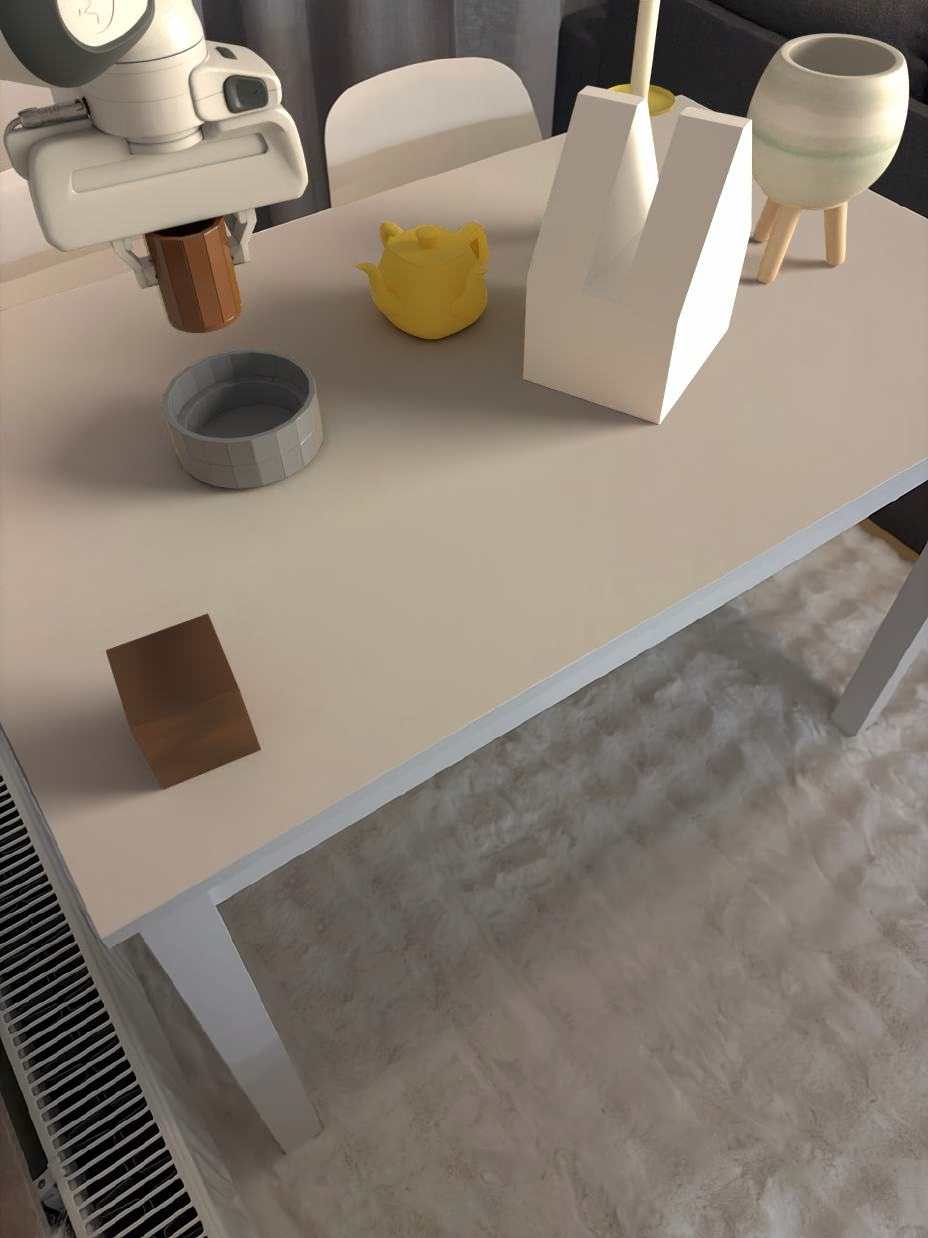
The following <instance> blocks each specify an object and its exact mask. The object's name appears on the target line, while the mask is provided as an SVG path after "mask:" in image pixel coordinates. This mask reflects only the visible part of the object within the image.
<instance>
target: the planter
mask: <svg viewBox="0 0 928 1238" xmlns="http://www.w3.org/2000/svg"><path fill="white" fill-rule="evenodd" d="M909 82H910V79H909V69H908V65H907V60H906V57H905V56H904V55H903V53H902V52H901V51H900V50H898V49H897V48H895V47H894V46H892V45H890V44H888V43H885V42H883V41H882V40H877V39H874V38H871V37H866V36H861V35H857V34H855V35H854V34H847V33H816V34H808V35H803V36H798V37H796V38H793V39H790V40H788V41H787V42H785V43H784V44H782V45H781V46H780V47H779V48H778V50H776V52H775V54H774V55H773V56H772V58H771V59H770V61H769V62H768V64H767V66H766V68H765V69H764V71H763V73H762V74H761V77H760V78H759V81H758V83H757V85H756V87H755V90H754V92H753V95H752V97H751V101H750V104H749V107H748V110H747V113H746V117H745V118H747V119H752V157H751V177H752V178H753V179H754V181H755V182H756V184H757V185H758V186H759V187H760V189H761V191H762V192H763V194H764V195H765V196H766V198H767V200H766V201H765V204H764V206H763V209H762V211H761V214H760V216H759V218H758V220H757V223H756V225H755V228H754V230H753V234H752V235H753V239H754V240H755V241H757V242H761V243H764V242H766V246H765V248H764V251H763V255H762V258H761V261H760V264H759V268H758V272H757V279H758V281H759V282H761V283H764V284H770V283H773V282H774V281H775V280H776V278H777V275H778V273H779V270H780V268H781V265H782V264H783V261H784V258H785V255H786V253H787V250H788V249H789V245H790V242H791V240H792V238H793V235H794V232H795V229H796V227H797V224H798V222H799V219H800V217H801V214H802V211H823V218H824V219H823V223H824V225H823V226H824V241H825V243H824V244H825V245H824V246H825V261H826V263H827V264H828V265H830V266H833V267H837V266H840V265H842V264H843V263H844V261H845V259H846V249H847V219H848V204H849V203H848V202H849V201H850V200H852V199H853V198H855V197H857V196H858V195H861V194H862V193H863V192H865V191H866V190H867V189H869V188H870V187H871V186H872V185H873V184H874V183H875V182H876V181H877V180H878V179H879V178H880V177H881V176H882V175H883V173H884V172H885V171H886V170H887V168H888V167H889V165H890V164H891V162H892V160H893V158H894V156H895V154H896V152H897V150H898V147H899V145H900V142H901V139H902V136H903V133H904V129H905V124H906V120H907V115H908V108H909V107H908V106H909V95H910V83H909Z"/></svg>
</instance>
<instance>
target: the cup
mask: <svg viewBox="0 0 928 1238" xmlns="http://www.w3.org/2000/svg"><path fill="white" fill-rule="evenodd" d="M141 236H142V239H143V243H144V246H145V250H146V254H147V256H148V257H149V259H150V261H151V262H152V264H153V265H154V267H155V271H156V277H157V278H158V281H159V285H156V288H157V291H158V292H157V293H158V295H159V299H160V302H161V306H162V309H163V313H164V314H165V316H166V320H167V323H168V324H169V325H170V326H171V327H172V328H174V329H176V330H177V331H180V332H183V333H187V334H188V333H189V334H208V333H213V332H217V331H219V330H222V329H225V328H226V327H229V326H230V325H232V324H233V323H234V322H236V321H237V320H238V319H239V317H240V316H241V313H242V309H243V308H242V303H243V302H242V298H241V292H240V288H239V284H238V283H239V282H238V279H237V275H236V274H237V273H236V270H235V266H234V265H233V261H232V255H231V251H230V246H229V241H228V233H227V227H226V223H225V218H224V215H223V216H218V217H214V218H210V219H205V220H201V221H197V222H193V223H188V224H184V225H180V226H175V227H171V228H167V229H162V230H158V231H154V232H149V233H145V234H141Z"/></svg>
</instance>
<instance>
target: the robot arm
mask: <svg viewBox="0 0 928 1238" xmlns="http://www.w3.org/2000/svg"><path fill="white" fill-rule="evenodd" d="M0 80H1V81H6V82H7V81H8V82H12V83H13V82H14V83H17V84H24V85H28V86H33V87H34V86H35V87H41V88H47V89H73V88H79V87H80V89H81V92H82V95H83V96H82V97H79V98H75V99H71V100H65V101H59V102H57V103H53V104H52V105H51V104H50V105H48V106H44V107H37V106H36V107H28V108H27V107H26V108H24V109H21V110H19V111H18V112H17V113H16V114H17V117H15V118H13V119H11V120H10V121H9V122H8V124H7V125H6V127H4V131H3V138H2V139H3V145H4V148H5V152H6V153H7V156H8V159H9V162H10V164H11V167H12V168H13V170H14V171H15V173H17V174H18V176H19V177H21V178H22V179H24V180H25V181H26V182H27V187H28V191H29V195H30V199H31V202H32V206H33V209H34V212H35V216H36V219H37V221H38V225H39V227H40V229H41V233H42V236H43V238H44V239H45V241H46V243H48V244H49V245H50V246H52V247H53V248H54V249H56V250H57V251H59V252H61V253H66V252H67V253H68V252H72V251H76V250H80V249H84V248H89V247H93V246H98V245H102V244H106V243H109V244H110V246H111V248H112V250H113V251H114V253H115V255H116V256H117V257H118V258H119V259H121V260H122V261H123V262H124V263H125V264H126V265H128V266H129V268H131V269H132V271H133V274H134V277H135V280H136V282H137V284H138V286H139V288H140V290H143V289H147V288H152V287H155V286H157V285H159V281H158V278H157V277H156V271H155V267H154V265H153V264H152V262H151V261H150V259H149V257H148V255H146V256H141V257H139V256H137V255H136V253H134V252H133V251H132V250H133V248H134V246H133V243H132V239H131V237H136V236H140V235H141V236H142V234H145V233H149V232H154V231H158V230H162V229H167V228H171V227H175V226H180V225H184V224H188V223H193V222H197V221H201V220H205V219H210V218H214V217H218V216H223V217H224V216H226V215H230V214H231V215H232V214H233V215H234V217H235V218H236V221H235V224H234V227H233V231H232V235H229V236H228V235H227V236H228V241H229V246H230V251H231V255H232V261H233V265H234V267H236V266H240V265H244V264H247V263H250V262H251V257H250V252H249V251H250V250H249V246H248V243H250V240H251V237H252V234H253V232H254V229H255V226H256V224H257V221H258V219H257V213H256V209H257V208H261V207H266V206H270V205H275V204H280V203H283V202H286V201H287V202H288V201H291V200H296V199H299V198H301V197H302V196H303V195H304V193H305V190H306V188H307V186H308V184H309V176H308V169H307V163H306V158H305V154H304V150H303V149H304V148H303V145H302V142H301V137H300V135H299V131H298V129H297V125H296V122H295V121H294V119H293V117H292V116H291V114H290V113H289V112H288V111H287V109H286V108H285V107H283V105H282V103H281V102H282V99H283V91H282V85H281V80H280V79H279V77H278V75H277V74H276V72H275V71H274V70H273V68H272V67H271V66H270V65H269V64H268V62H266V61H265V59H263V58H262V57H261V56H259V55H258V54H257V53H256V52H254V51H253V50H251V49H249V48H248V47H245V46H241V45H238V44H237V45H236V44H230V43H224V42H218V41H214V40H213V41H212V40H208V39H206V38H205V34H204V28H203V26H202V21H201V20H200V17H199V15H198V13H197V11H196V9H195V7H194V5H193V1H192V0H0ZM19 125H21V127H17V126H19Z"/></svg>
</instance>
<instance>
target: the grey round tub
mask: <svg viewBox="0 0 928 1238" xmlns="http://www.w3.org/2000/svg"><path fill="white" fill-rule="evenodd" d="M161 410H162V414H163V417H164V419H165V423H166V425H167V429H168V431H169V434H170V438H171V440H172V443H173V446H174V449H175V452H176V455H177V458H178V459H179V462H180V464H181V467H182V468H183V469H184V470H185V471H186V472H187V473H189V474H190V475H191V476H192V477H194V479H196V480H197V481H200V482H202V483H206V484H208V485H211V486H214V487H217V488H228V489H236V490H238V489H240V490H241V489H248V488H249V489H250V488H257V487H264V486H268V485H270V484H273V483H277V482H278V481H282V480H285V479H287V478H289V477H290V476H292V475H294V474H296V473H297V472H299V471H300V470H302V469H303V468H305V467H306V466H307V465H308V464H309V463H310V462H311V461H312V460H313V459H314V458H315V457H316V456H317V454H318V452H319V450H320V447H321V445H322V442H323V441H324V426H323V419H322V413H321V408H320V403H319V395H318V390H317V386H316V380H315V377H314V375H313V374H312V372H311V371H310V370H309V368H308V366H307V365H306V364H304V363H303V362H301V361H299V360H298V359H296V358H295V357H293V356H291V355H288V354H285V353H283V352H280V351H276V350H269V349H256V348H245V349H236V350H228V351H224V352H220V353H217V354H214V355H209V356H206V357H205V358H202V359H200V360H199V361H196V362H194V363H193V364H190V365H189V366H187V367H186V368H184V369H183V370H181V372H179V373H178V374H176V376H175V377H174V378H172V379H171V381H170V383H169V384H168V385H167V388H165V391H164V392H163V394H162V403H161Z"/></svg>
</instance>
